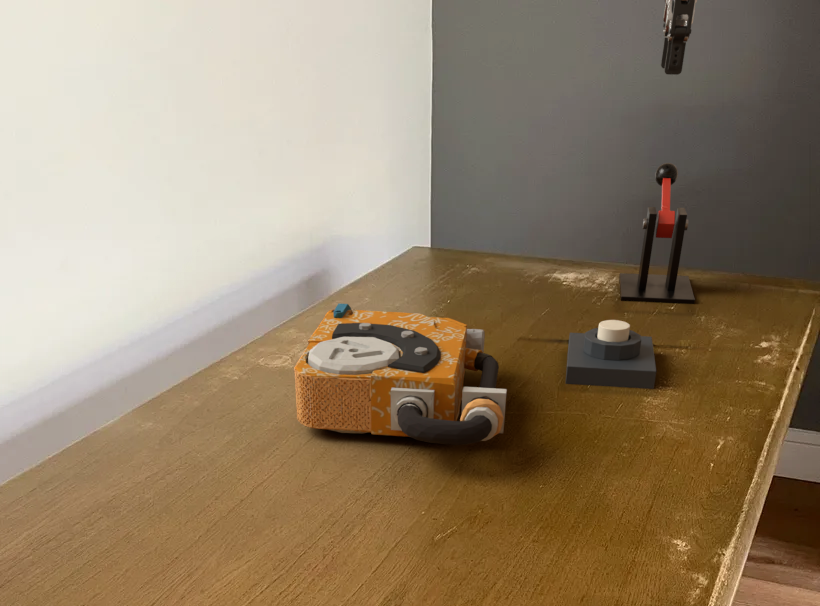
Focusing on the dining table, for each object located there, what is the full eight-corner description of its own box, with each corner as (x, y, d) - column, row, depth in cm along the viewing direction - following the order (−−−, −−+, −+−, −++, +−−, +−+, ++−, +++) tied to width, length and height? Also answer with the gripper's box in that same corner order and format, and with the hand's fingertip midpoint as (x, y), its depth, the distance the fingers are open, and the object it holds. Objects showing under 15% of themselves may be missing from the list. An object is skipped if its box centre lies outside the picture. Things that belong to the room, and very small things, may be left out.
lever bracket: (618, 283, 145) (629, 200, 138) (686, 285, 143) (700, 202, 137) (619, 307, 135) (631, 219, 129) (693, 310, 134) (708, 221, 127)
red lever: (653, 177, 142) (657, 157, 139) (676, 178, 141) (679, 158, 138) (651, 240, 135) (655, 220, 132) (675, 241, 134) (679, 221, 131)
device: (517, 300, 111) (504, 398, 87) (511, 368, 116) (498, 480, 92) (326, 293, 115) (262, 385, 90) (329, 359, 119) (269, 465, 95)
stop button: (597, 333, 115) (598, 318, 114) (627, 334, 115) (629, 320, 114) (597, 343, 112) (598, 328, 111) (628, 345, 112) (630, 330, 111)
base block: (567, 349, 121) (571, 318, 119) (649, 353, 120) (654, 322, 117) (565, 384, 112) (568, 351, 109) (653, 389, 110) (659, 355, 108)
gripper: (728, -77, 115) (703, 77, 125) (716, -75, 127) (694, 66, 136) (664, -76, 117) (644, 76, 126) (658, -74, 128) (640, 65, 137)
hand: (670, 71), depth 131 cm, fingers open, 7 cm apart
